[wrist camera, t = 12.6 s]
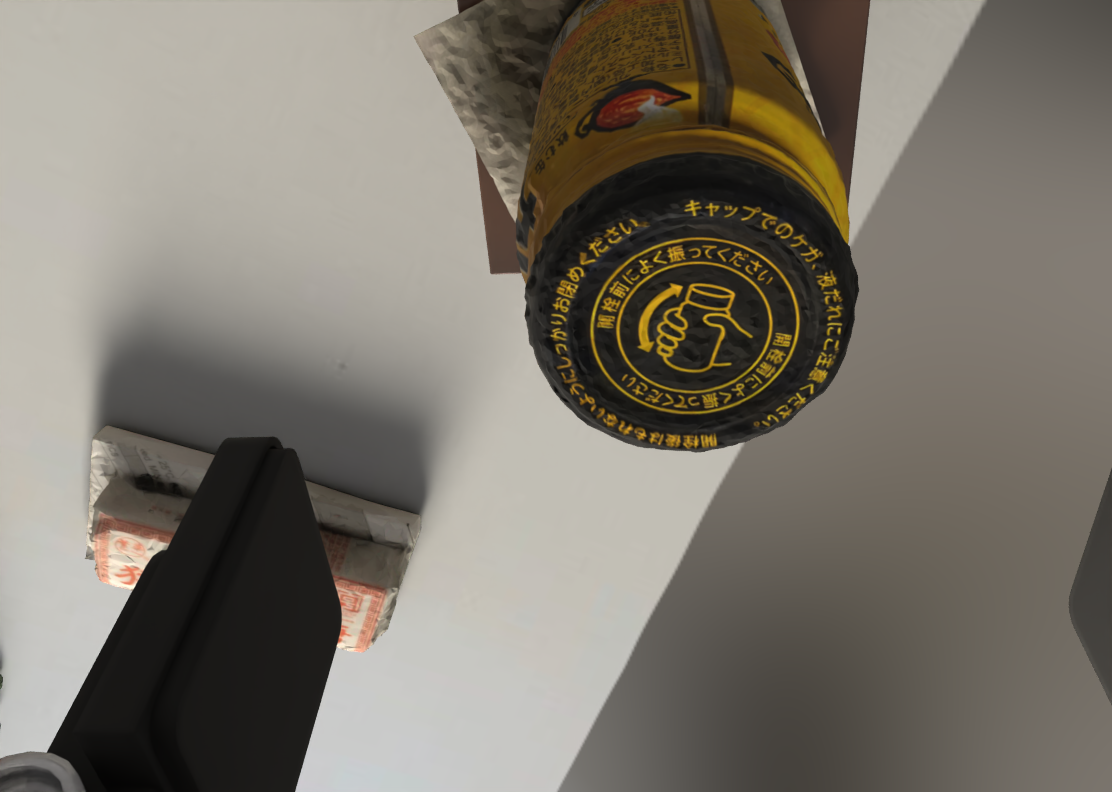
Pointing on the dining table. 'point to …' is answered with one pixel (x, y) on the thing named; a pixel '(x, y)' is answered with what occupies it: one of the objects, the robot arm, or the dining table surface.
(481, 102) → the condiment
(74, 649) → the dining table surface
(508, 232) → the stand
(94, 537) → the packaged product
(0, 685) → the toy figurine
